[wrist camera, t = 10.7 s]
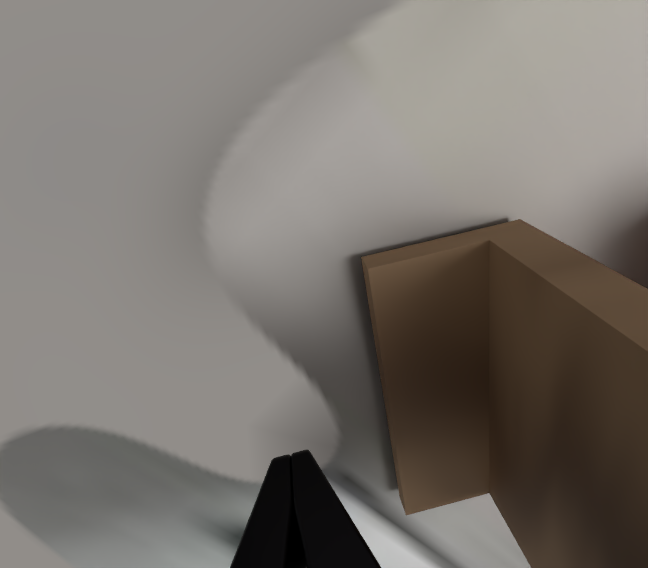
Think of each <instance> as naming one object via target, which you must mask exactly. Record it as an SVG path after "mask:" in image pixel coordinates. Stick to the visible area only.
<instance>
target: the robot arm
mask: <svg viewBox="0 0 648 568" xmlns="http://www.w3.org/2000/svg"><path fill="white" fill-rule="evenodd" d="M230 568H381V567H380V565H379V563H378V562H377V560H376V558H375V557H374V555H373V553H372V552H371V550H370V549H369V547H368V545H367V544H366V542H365V540H364V539H363V537H362V536H361V534H360V532H359V531H358V529H357V527H356V526H355V524H354V523H353V521H352V519H351V518H350V516H349V514H348V513H347V511H346V509H345V508H344V506H343V505H342V503H341V501H340V500H339V498H338V496H337V495H336V493H335V492H334V490H333V488H332V487H331V485H330V483H329V482H328V480H327V478H326V477H325V475H324V474H323V472H322V470H321V469H320V467H319V465H318V464H317V462H316V461H315V459H314V458H313V456H312V454H311V453H310V451H309V450H303V451H300V452H296V453H293V454H292V456H290V455H284V456H280V457H276V458H274V459H273V460H272V461H271V464H270V466H269V468H268V471H267V474H266V476H265V479H264V481H263V484H262V486H261V489H260V492H259V494H258V497H257V499H256V502H255V505H254V507H253V510H252V512H251V515H250V517H249V520H248V523H247V525H246V528H245V530H244V533H243V535H242V538H241V541H240V543H239V546H238V548H237V551H236V554H235V556H234V559H233V561H232V564H231V566H230Z"/></svg>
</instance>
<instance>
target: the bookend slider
mask: <svg viewBox="0 0 648 568" xmlns="http://www.w3.org/2000/svg"><path fill="white" fill-rule="evenodd" d="M361 260H362V266H363V272H364V278H365V285H366V291H367V297H368V303H369V309H370V316H371V322H372V328H373V334H374V341H375V347H376V353H377V359H378V365H379V372H380V378H381V384H382V390H383V396H384V403H385V409H386V415H387V421H388V427H389V434H390V440H391V446H392V452H393V458H394V465H395V471H396V477H397V483H398V489H399V496H400V499H401V502H402V505H403V508H404V511H405V513H406V515H409V514H413V513H416V512H420V511H424V510H427V509H431V508H435V507H439V506H442V505H446V504H450V503H454V502H457V501H461V500H465V499H468V498H472V497H476V496H480V495H483V494H487V493H490V495H491V497H492V498H493V500H494V502H495V504H496V506H497V507H498V509H499V511H500V513H501V514H502V516H503V518H504V520H505V522H506V523H507V525H508V527H509V529H510V530H511V532H512V534H513V536H514V538H515V539H516V541H517V543H518V545H519V547H520V548H521V550H522V552H523V554H524V555H525V557H526V559H527V561H528V563H529V564H530V566H531V568H648V289H647V288H645V287H643V286H641V285H640V284H638V283H636V282H634V281H632V280H630V279H629V278H627V277H625V276H623V275H621V274H619V273H618V272H616V271H614V270H612V269H610V268H608V267H607V266H605V265H603V264H601V263H599V262H597V261H596V260H594V259H592V258H590V257H588V256H586V255H585V254H583V253H581V252H579V251H577V250H575V249H574V248H572V247H570V246H568V245H566V244H564V243H563V242H561V241H559V240H557V239H555V238H553V237H552V236H550V235H548V234H546V233H544V232H542V231H541V230H539V229H537V228H535V227H533V226H531V225H530V224H528V223H526V222H524V221H522V220H520V219H519V220H515V221H510V222H506V223H502V224H498V225H494V226H489V227H485V228H481V229H477V230H473V231H469V232H464V233H460V234H456V235H452V236H448V237H443V238H439V239H435V240H431V241H427V242H422V243H418V244H414V245H410V246H406V247H401V248H397V249H393V250H389V251H385V252H380V253H376V254H372V255H368V256H364V257H361Z"/></svg>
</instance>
